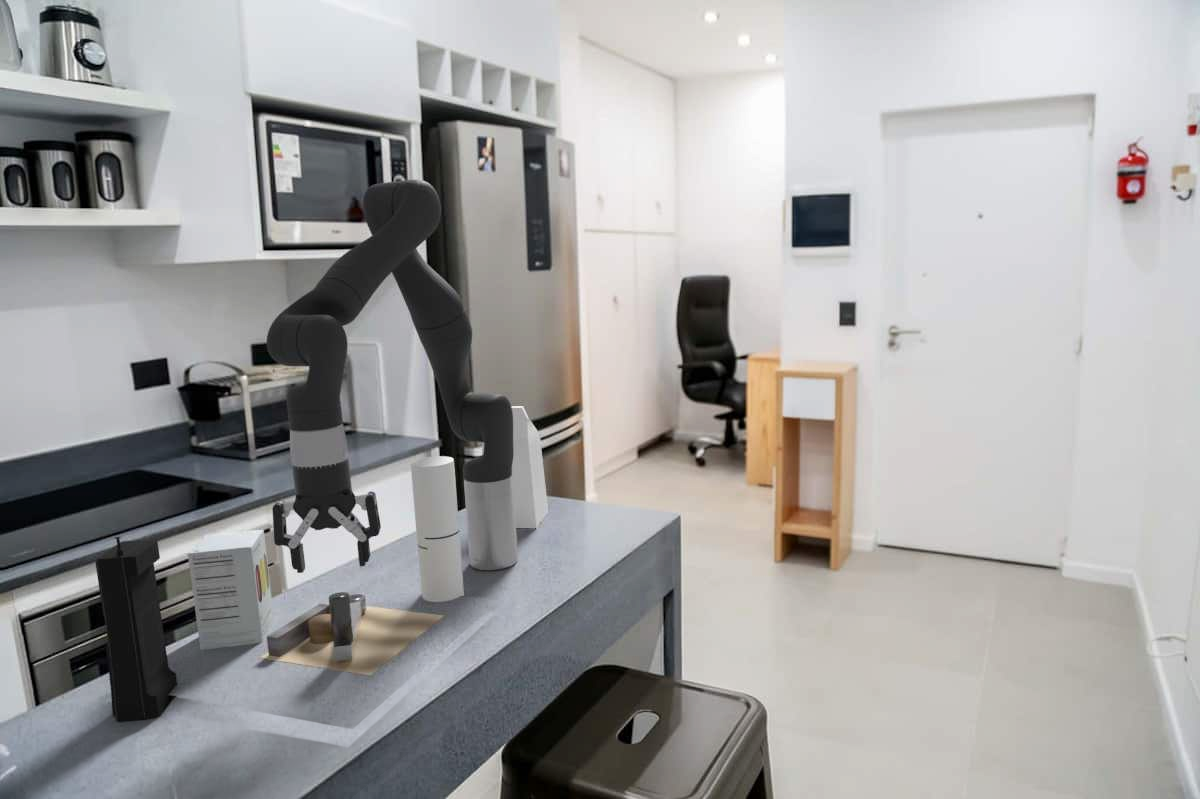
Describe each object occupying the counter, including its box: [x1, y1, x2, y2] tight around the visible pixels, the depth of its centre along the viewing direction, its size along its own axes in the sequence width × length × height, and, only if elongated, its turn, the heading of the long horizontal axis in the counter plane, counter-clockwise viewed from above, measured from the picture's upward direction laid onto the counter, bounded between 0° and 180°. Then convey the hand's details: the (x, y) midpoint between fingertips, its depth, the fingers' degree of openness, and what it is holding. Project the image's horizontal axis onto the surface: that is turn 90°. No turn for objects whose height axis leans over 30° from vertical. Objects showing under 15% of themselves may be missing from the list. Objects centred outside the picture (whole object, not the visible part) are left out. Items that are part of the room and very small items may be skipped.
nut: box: [308, 614, 333, 644], centre depth 127 cm, size 4×4×3 cm
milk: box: [481, 405, 549, 529], centre depth 184 cm, size 12×12×26 cm
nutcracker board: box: [259, 603, 445, 676], centre depth 128 cm, size 20×20×4 cm
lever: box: [328, 591, 367, 661], centre depth 128 cm, size 19×4×9 cm, turn 11°
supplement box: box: [187, 529, 275, 650], centre depth 130 cm, size 10×9×17 cm
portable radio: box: [95, 536, 178, 722], centre depth 111 cm, size 8×6×25 cm
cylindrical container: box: [410, 455, 465, 603], centre depth 141 cm, size 7×7×25 cm
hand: (332, 567), depth 118 cm, fingers open, 8 cm apart
